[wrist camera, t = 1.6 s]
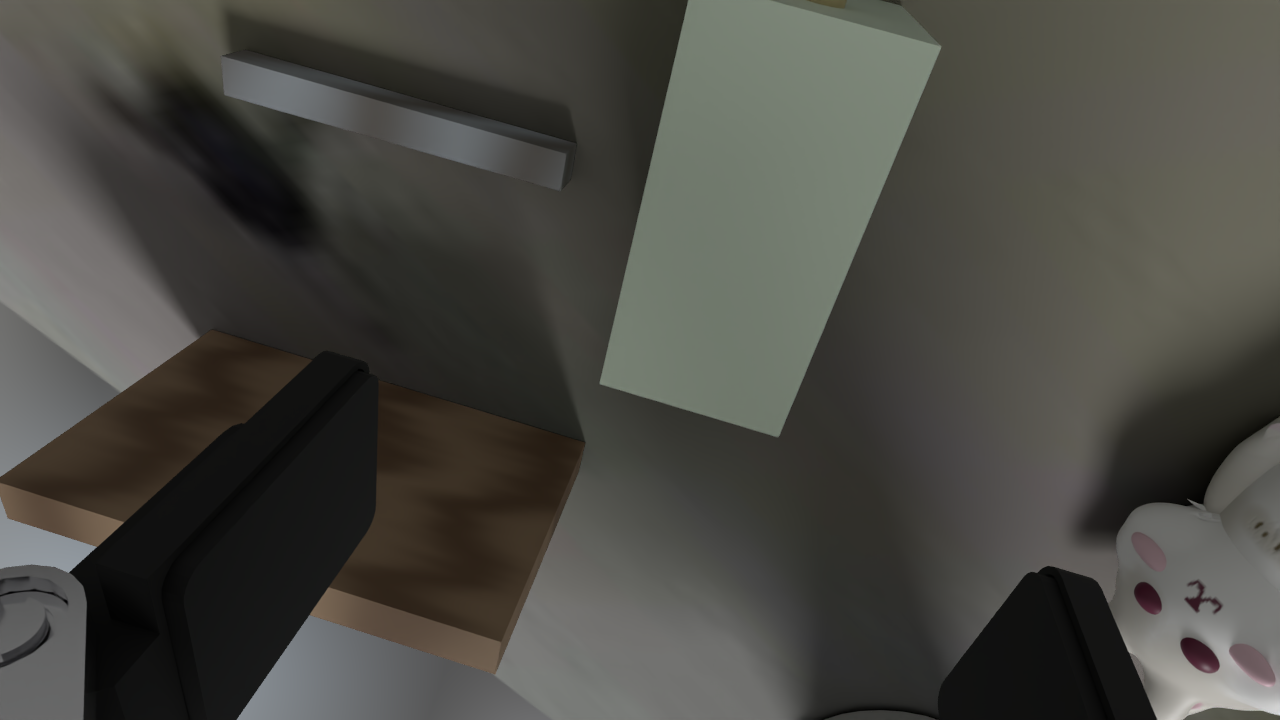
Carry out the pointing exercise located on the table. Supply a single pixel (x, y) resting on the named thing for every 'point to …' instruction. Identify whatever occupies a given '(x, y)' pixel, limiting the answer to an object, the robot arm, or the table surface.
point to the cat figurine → (1208, 589)
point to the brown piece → (407, 421)
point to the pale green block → (760, 197)
